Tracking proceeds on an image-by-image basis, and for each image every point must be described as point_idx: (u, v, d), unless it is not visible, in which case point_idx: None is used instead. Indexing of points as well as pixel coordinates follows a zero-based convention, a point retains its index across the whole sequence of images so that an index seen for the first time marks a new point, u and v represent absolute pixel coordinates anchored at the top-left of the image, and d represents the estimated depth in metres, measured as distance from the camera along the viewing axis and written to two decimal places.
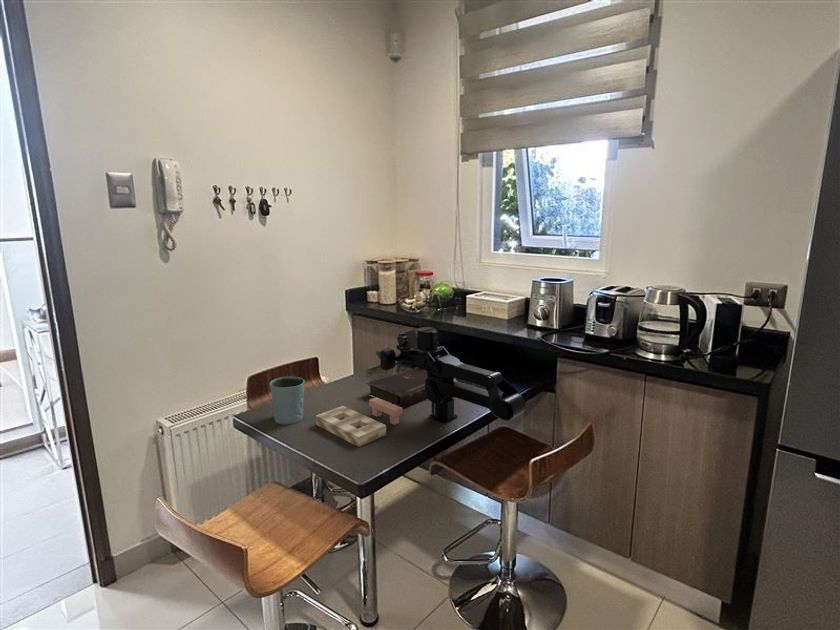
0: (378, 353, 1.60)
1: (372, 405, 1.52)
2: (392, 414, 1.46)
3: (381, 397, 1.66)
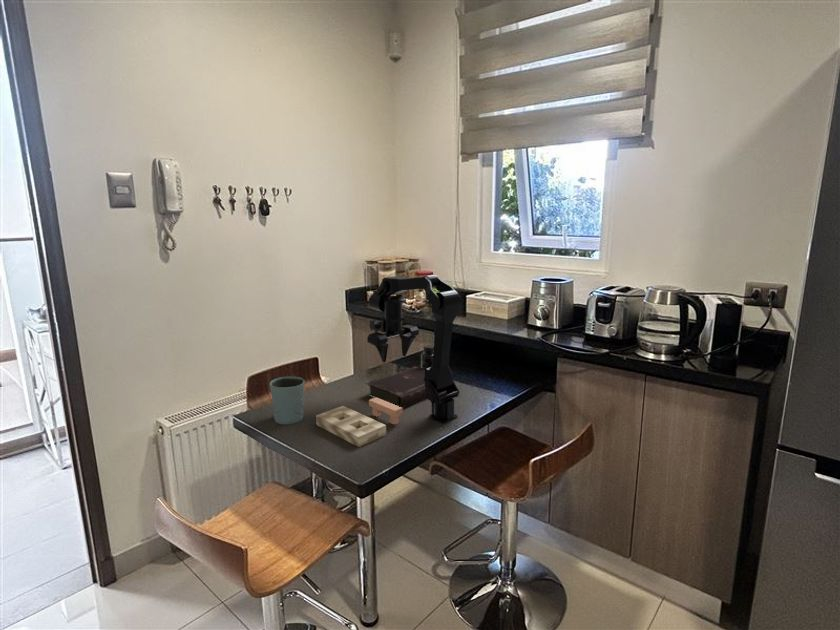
0: (381, 357, 1.63)
1: (372, 405, 1.52)
2: (392, 414, 1.46)
3: (381, 397, 1.66)
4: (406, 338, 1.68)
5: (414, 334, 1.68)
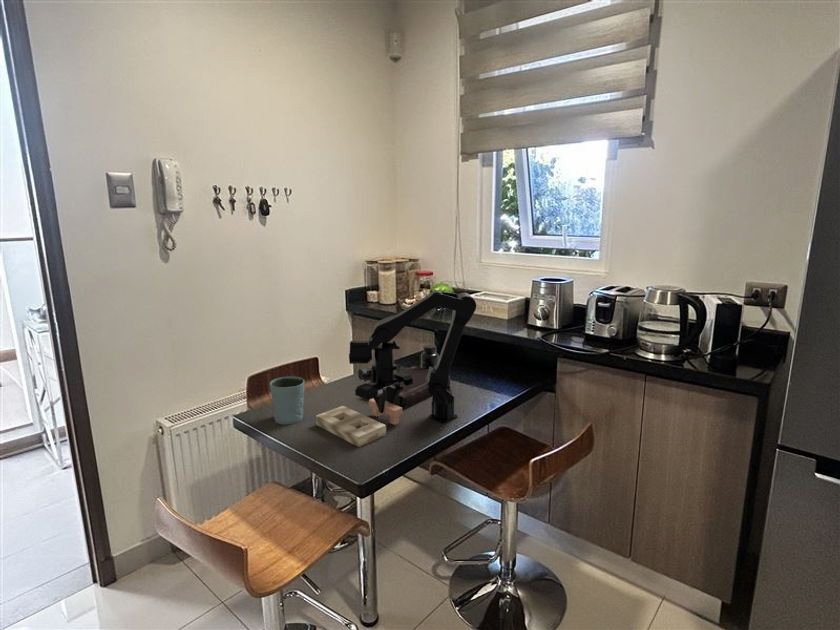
0: (379, 407, 1.48)
1: (372, 405, 1.52)
2: (392, 414, 1.46)
3: None
4: (392, 390, 1.50)
5: (408, 383, 1.51)
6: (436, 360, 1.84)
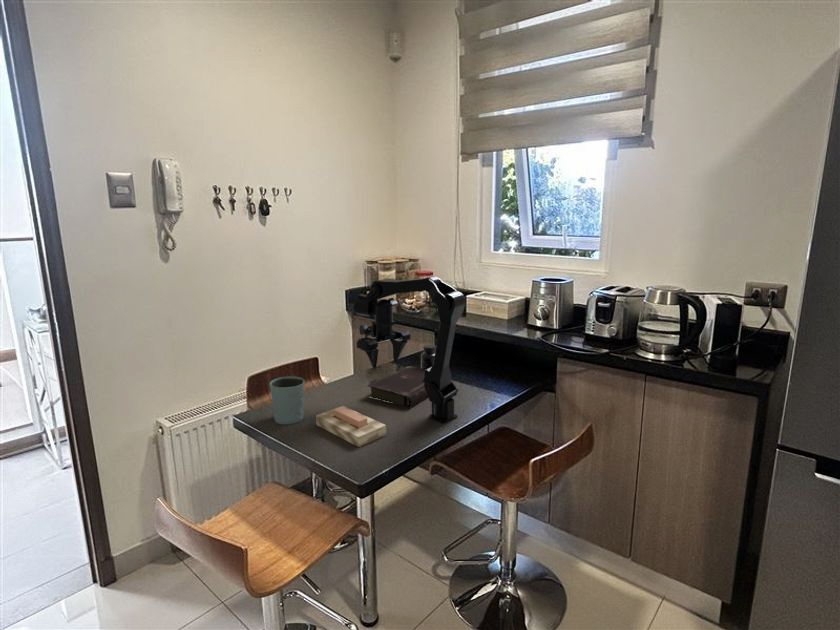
0: (371, 362, 1.57)
1: (337, 415, 1.45)
2: (356, 425, 1.39)
3: (384, 398, 1.65)
4: (397, 343, 1.63)
5: (405, 339, 1.62)
6: None
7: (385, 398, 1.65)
